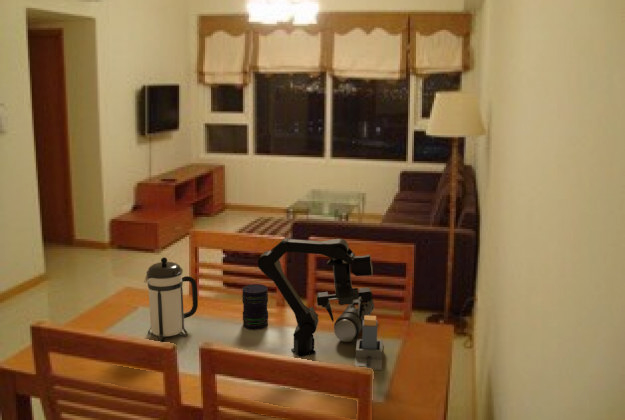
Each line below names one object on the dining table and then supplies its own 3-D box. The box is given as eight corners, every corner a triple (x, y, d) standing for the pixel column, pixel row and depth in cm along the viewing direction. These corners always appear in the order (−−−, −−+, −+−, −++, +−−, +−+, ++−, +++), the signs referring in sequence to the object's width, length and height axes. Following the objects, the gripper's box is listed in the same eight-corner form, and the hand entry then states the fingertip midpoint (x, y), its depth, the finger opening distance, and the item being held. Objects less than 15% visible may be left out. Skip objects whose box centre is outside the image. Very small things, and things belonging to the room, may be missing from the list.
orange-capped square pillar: (361, 355, 205) (362, 320, 202) (362, 349, 210) (363, 314, 207) (376, 356, 204) (377, 321, 202) (376, 350, 209) (377, 315, 206)
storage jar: (270, 320, 237) (269, 284, 234) (266, 330, 228) (265, 293, 225) (245, 319, 238) (244, 283, 235) (240, 329, 229) (239, 292, 226)
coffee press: (180, 345, 215) (177, 265, 209) (139, 341, 218) (135, 262, 212) (199, 326, 232) (196, 251, 225) (160, 322, 235) (157, 248, 228)
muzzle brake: (374, 318, 240) (375, 294, 238) (357, 347, 214) (358, 320, 212) (351, 315, 243) (352, 291, 241) (331, 344, 217) (332, 317, 215)
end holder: (354, 368, 198) (354, 357, 197) (357, 342, 218) (358, 332, 217) (381, 370, 197) (382, 359, 196) (382, 344, 216) (383, 333, 216)
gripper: (315, 287, 194) (320, 332, 197) (373, 281, 195) (376, 326, 198) (314, 276, 205) (318, 319, 208) (368, 271, 206) (372, 313, 209)
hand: (346, 320), depth 205 cm, fingers open, 9 cm apart
